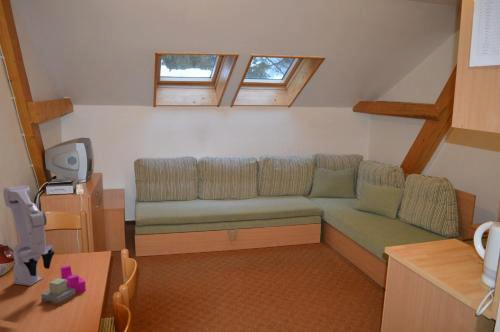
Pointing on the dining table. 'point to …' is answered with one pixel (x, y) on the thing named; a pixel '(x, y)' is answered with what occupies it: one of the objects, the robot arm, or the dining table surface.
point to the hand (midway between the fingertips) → (40, 271)
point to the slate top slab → (58, 295)
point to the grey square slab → (55, 302)
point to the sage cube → (58, 286)
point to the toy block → (72, 279)
